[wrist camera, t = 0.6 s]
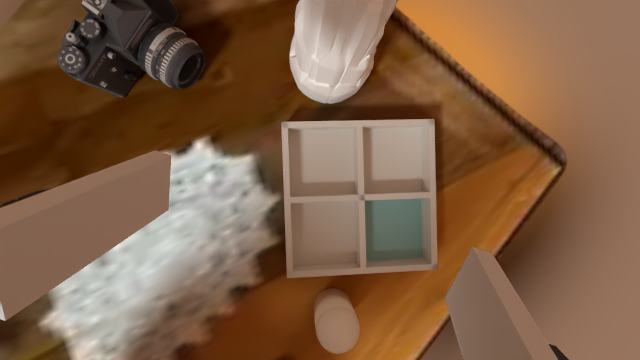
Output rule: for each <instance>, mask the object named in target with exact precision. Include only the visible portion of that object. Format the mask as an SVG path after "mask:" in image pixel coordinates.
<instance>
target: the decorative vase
mask: <svg viewBox="0 0 640 360" xmlns="http://www.w3.org/2000/svg"><path fill="white" fill-rule="evenodd" d="M397 1H398V0H300V1H299V3H298V4H297V6H296V14H295V34H294V36H293V40H292V44H291V49H290V69H291V71H292V74H293V76H294V79H295V81H296V84H297V86H298V88H299V89H300V90H301V92H302V93H303V94H305V95H306V96H308V97H309V98H310V99H313V100H315V101H319V102H322V103H329V104H332V103H337V102H341V101H343V100H345V99H347V98H349V97H351V96H352V95H354V94H355V93H356V92H357V91H358V90H359V89H360V87H361V86H362V85H363V83H364V82H365V80H366V79H367V78H368V76H369V75H370V71H371V70H372V68H373V64H374V54H375V53H376V46H377V44H378V43H379V41H380V39H381V38H382V36H383V33H384V26H385V24H386V23H387V21H388V19H389V18H390V16H391V14H392V12H393V11H394V9H395V7H396V3H397Z"/></svg>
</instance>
